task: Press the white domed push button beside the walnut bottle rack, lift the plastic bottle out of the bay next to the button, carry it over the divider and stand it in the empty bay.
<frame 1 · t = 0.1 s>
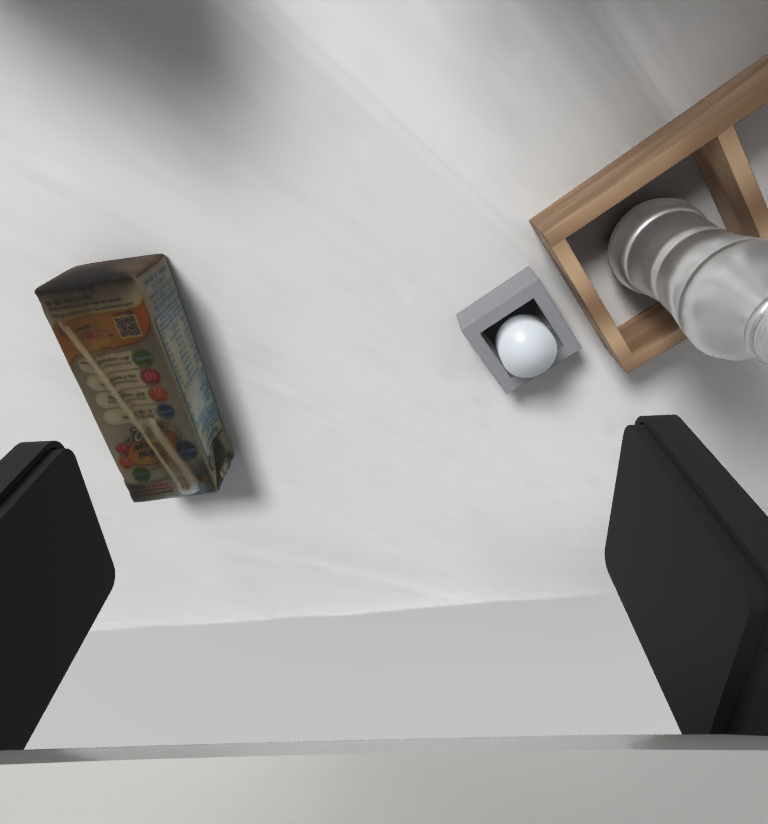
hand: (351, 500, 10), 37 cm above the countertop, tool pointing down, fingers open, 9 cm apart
walnut bottle rack: (718, 190, 43), on the countertop
plastic bottle: (642, 238, 45), resting in walnut bottle rack
button housing: (513, 323, 48), on the countertop
beverage carton: (161, 367, 51), on the countertop
white domed push button: (525, 345, 44), point 5 cm above the countertop, slide at 0.0 cm
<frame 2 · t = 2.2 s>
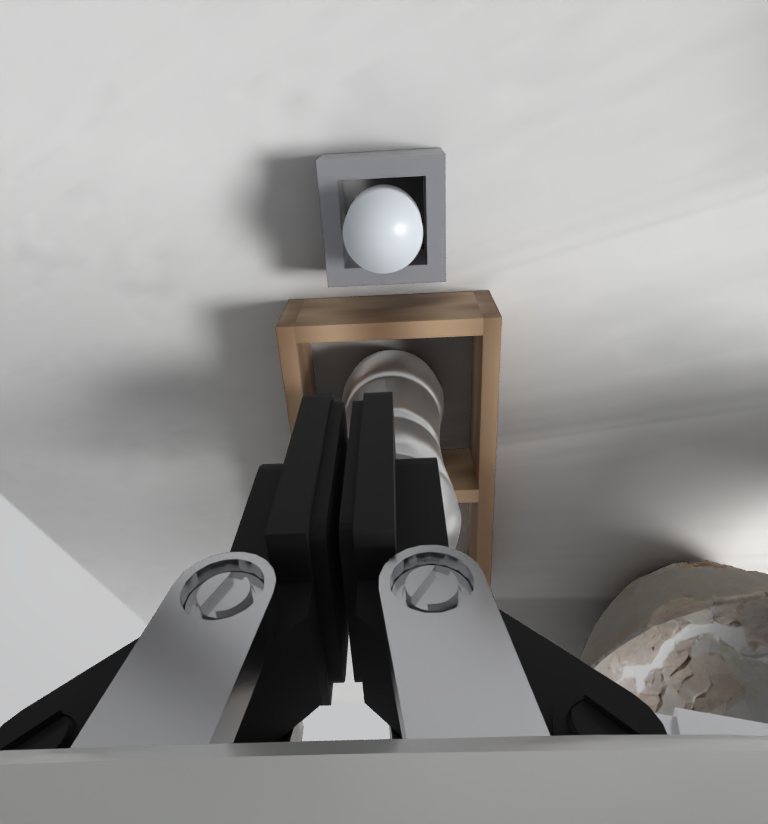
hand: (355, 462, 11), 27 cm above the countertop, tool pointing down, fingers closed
walnut bottle rack: (396, 457, 43), on the countertop
ceramic bowl: (667, 606, 50), on the countertop
plastic bottle: (393, 383, 41), resting in walnut bottle rack
button housing: (384, 212, 35), on the countertop
white domed push button: (383, 228, 31), point 5 cm above the countertop, slide at 0.0 cm
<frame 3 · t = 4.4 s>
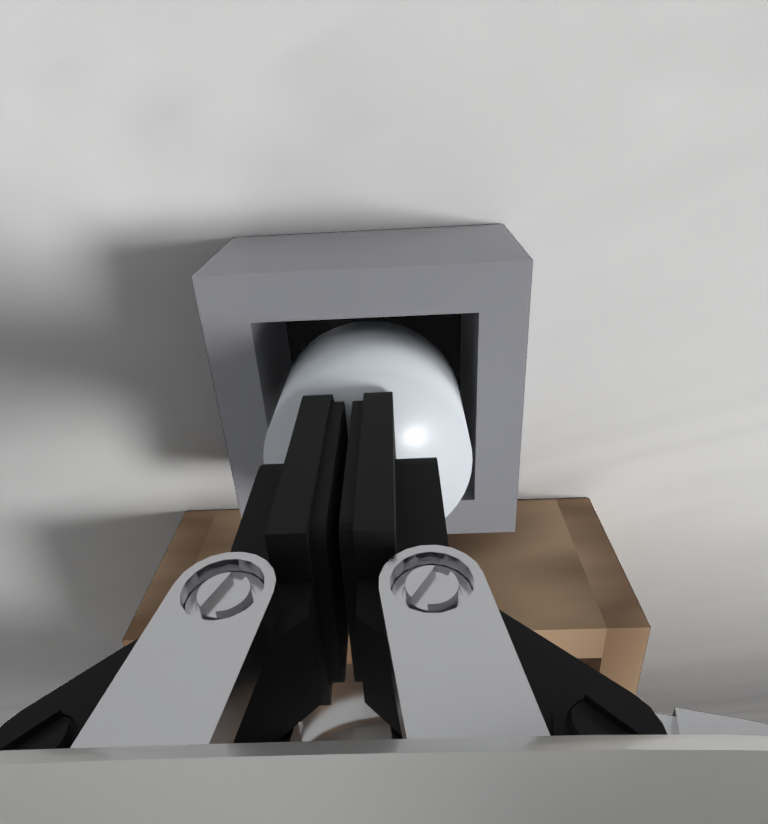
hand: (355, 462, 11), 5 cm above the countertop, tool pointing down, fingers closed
walnut bottle rack: (400, 743, 24), on the countertop
plastic bottle: (393, 640, 22), resting in walnut bottle rack
button housing: (375, 355, 16), on the countertop
white domed push button: (370, 431, 13), point 4 cm above the countertop, slide at 0.7 cm, touching gripper
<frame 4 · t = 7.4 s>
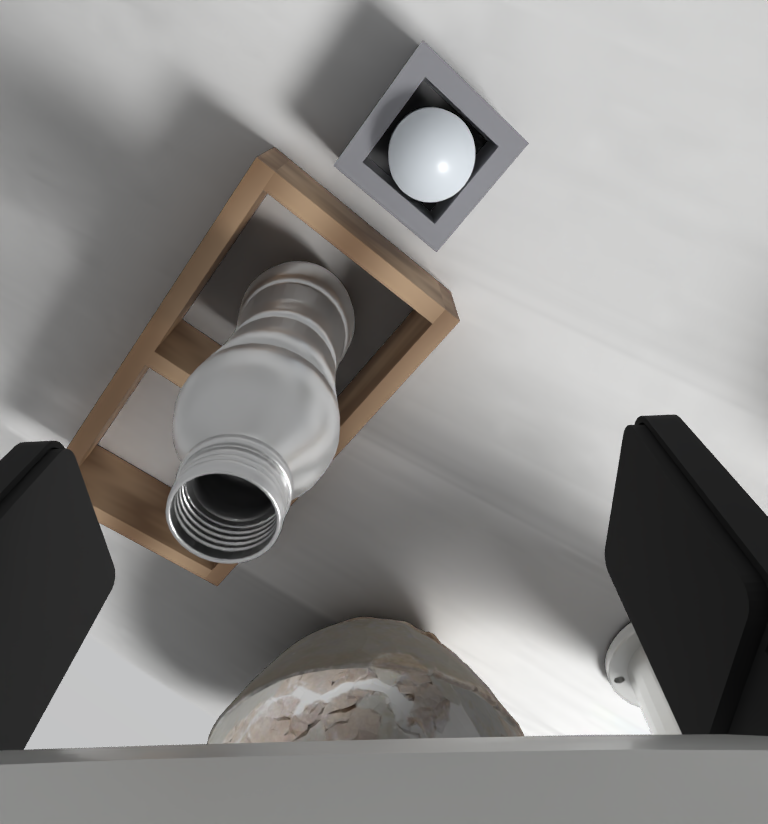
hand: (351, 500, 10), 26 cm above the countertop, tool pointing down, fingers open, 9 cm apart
walnut bottle rack: (250, 374, 38), on the countertop
ceramic bowl: (367, 653, 51), on the countertop
plastic bottle: (303, 305, 36), resting in walnut bottle rack
button housing: (426, 147, 32), on the countertop
white domed push button: (430, 154, 29), point 3 cm above the countertop, slide at 1.4 cm
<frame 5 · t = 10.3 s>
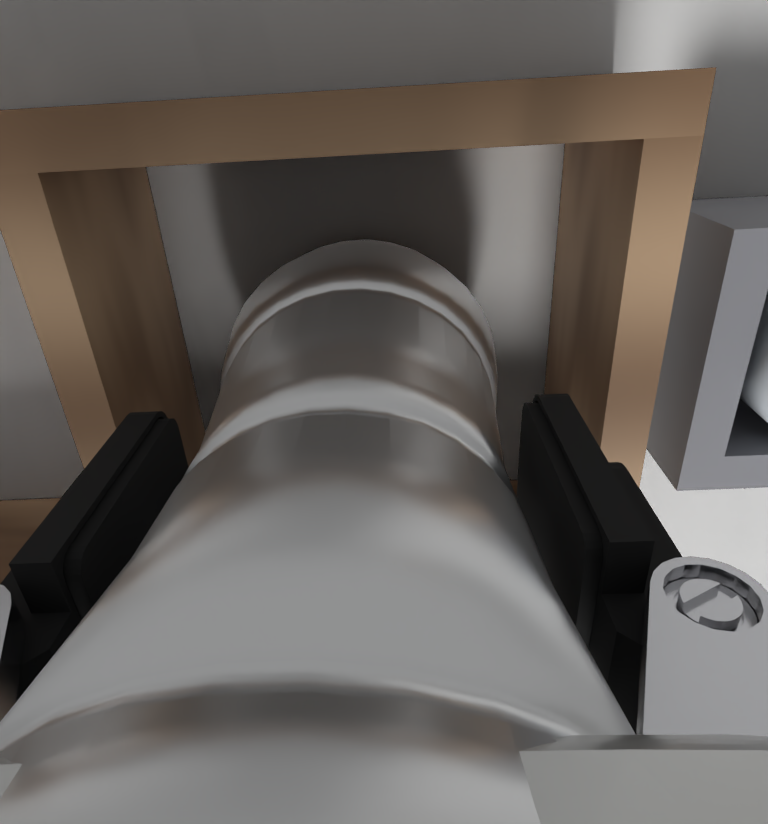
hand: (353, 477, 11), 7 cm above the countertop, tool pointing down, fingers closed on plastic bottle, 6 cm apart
walnut bottle rack: (168, 345, 17), on the countertop
plastic bottle: (366, 333, 17), resting in walnut bottle rack, touching gripper
button housing: (763, 317, 17), on the countertop
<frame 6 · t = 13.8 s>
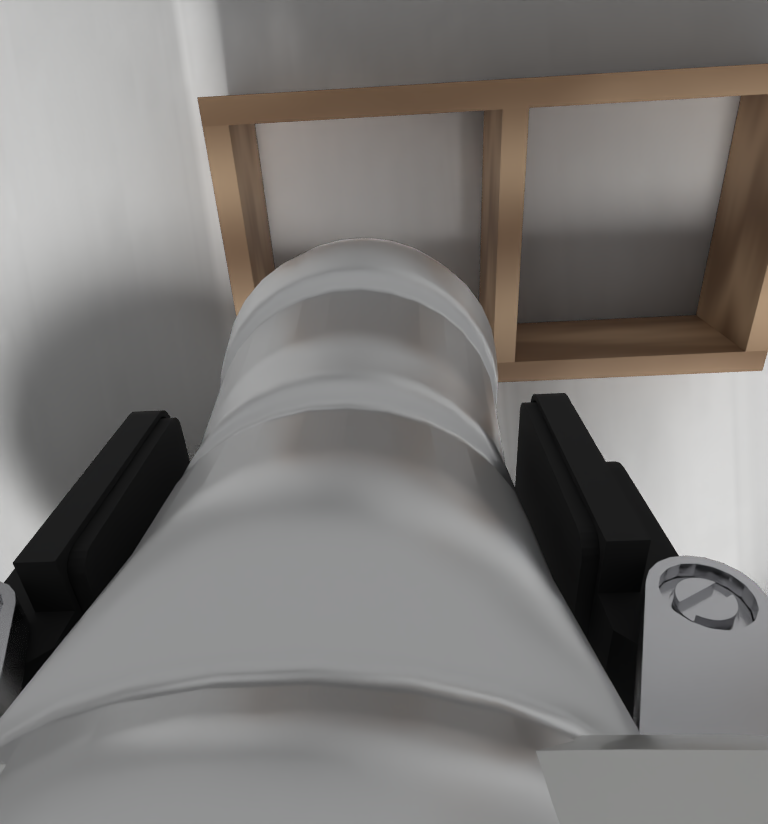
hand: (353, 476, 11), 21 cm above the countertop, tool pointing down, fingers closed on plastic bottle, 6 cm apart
walnut bottle rack: (491, 224, 30), on the countertop
plastic bottle: (366, 332, 17), point 14 cm above the countertop, touching gripper
when the fingers open (8 cm above the countertop, at t = 16.9 s): plastic bottle drops 1 cm, resting in walnut bottle rack.
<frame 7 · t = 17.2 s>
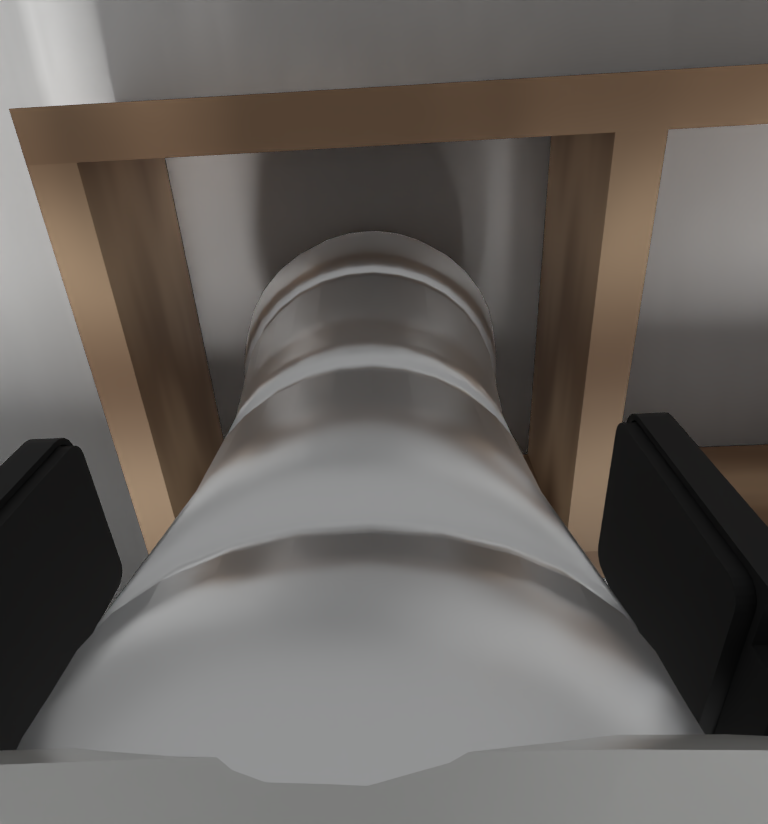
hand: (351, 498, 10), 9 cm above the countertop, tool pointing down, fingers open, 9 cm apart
walnut bottle rack: (554, 309, 18), on the countertop
plastic bottle: (372, 319, 19), resting in walnut bottle rack
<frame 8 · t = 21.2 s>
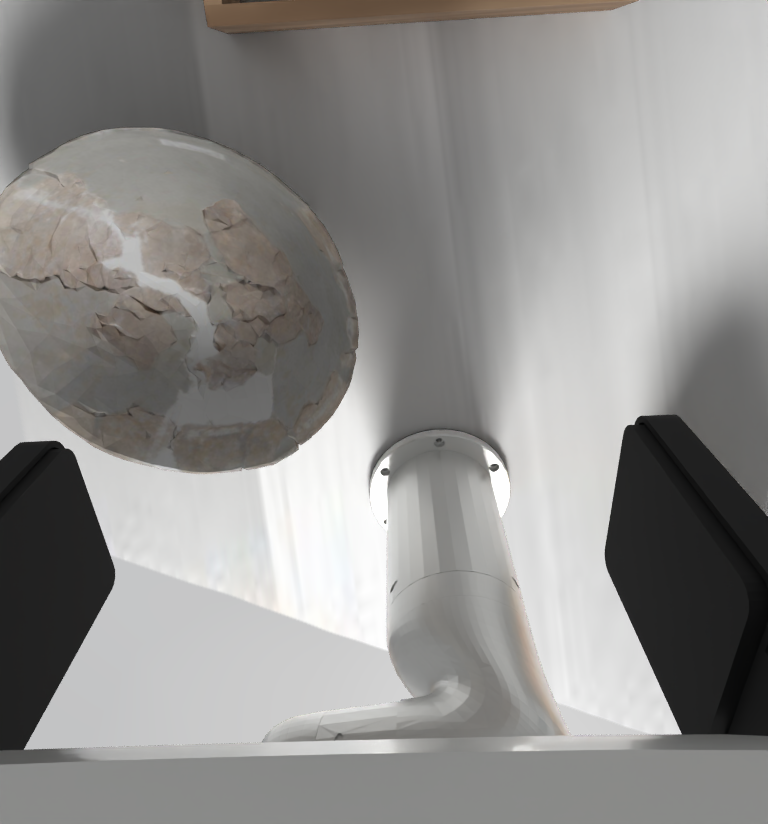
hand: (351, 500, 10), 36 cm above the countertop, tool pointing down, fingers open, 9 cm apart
ceramic bowl: (213, 280, 46), on the countertop
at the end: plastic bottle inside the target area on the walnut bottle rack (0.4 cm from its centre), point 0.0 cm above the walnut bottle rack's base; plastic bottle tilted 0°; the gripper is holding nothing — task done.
